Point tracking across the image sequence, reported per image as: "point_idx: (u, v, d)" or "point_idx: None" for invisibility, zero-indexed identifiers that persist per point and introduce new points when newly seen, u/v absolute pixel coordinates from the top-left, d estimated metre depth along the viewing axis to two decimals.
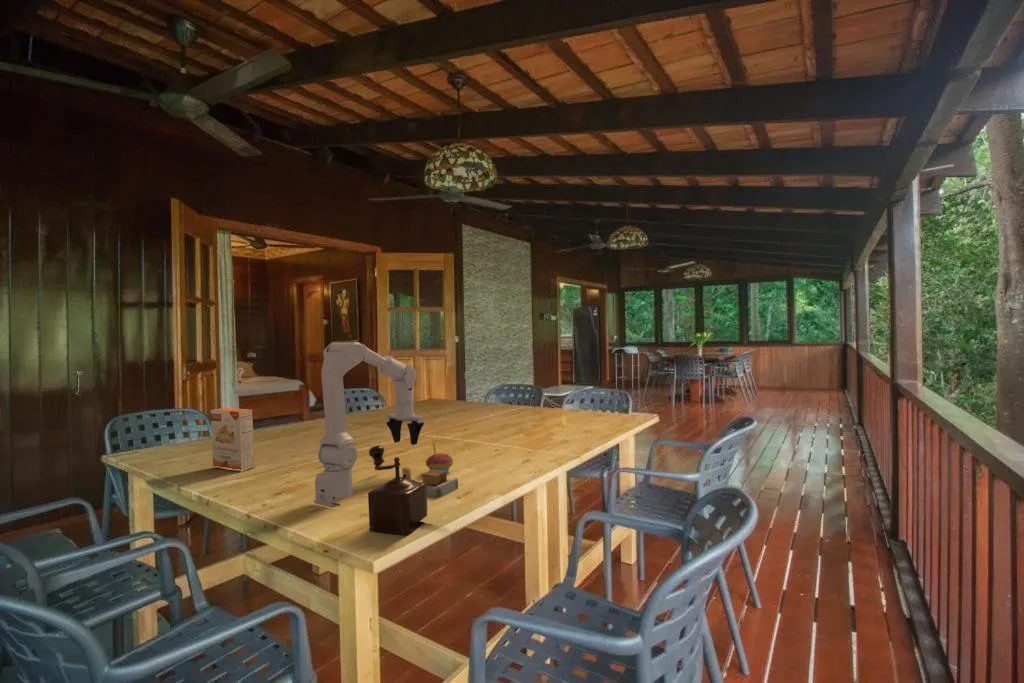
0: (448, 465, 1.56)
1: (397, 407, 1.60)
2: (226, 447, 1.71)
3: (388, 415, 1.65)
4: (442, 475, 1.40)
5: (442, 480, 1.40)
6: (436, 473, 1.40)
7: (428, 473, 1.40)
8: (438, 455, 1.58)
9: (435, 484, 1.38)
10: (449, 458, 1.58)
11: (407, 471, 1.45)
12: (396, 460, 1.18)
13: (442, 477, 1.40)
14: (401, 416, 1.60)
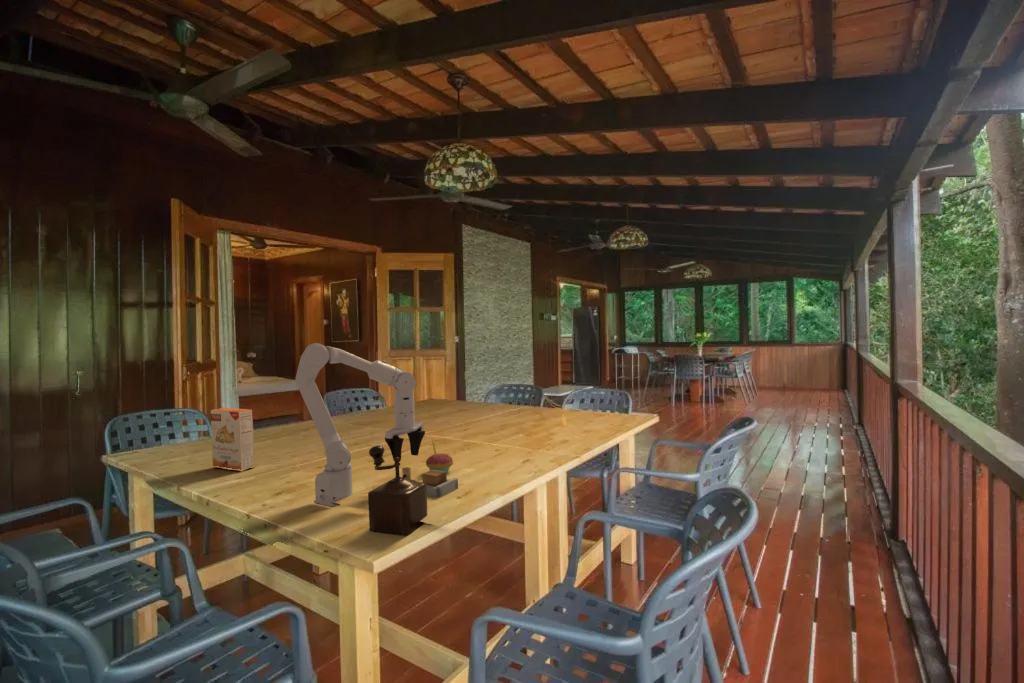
0: (448, 465, 1.56)
1: None
2: (226, 447, 1.71)
3: None
4: (442, 475, 1.40)
5: (442, 480, 1.40)
6: (436, 473, 1.40)
7: (428, 473, 1.40)
8: (438, 455, 1.58)
9: (435, 484, 1.38)
10: (449, 458, 1.58)
11: (407, 471, 1.45)
12: (396, 460, 1.18)
13: (442, 477, 1.40)
14: None
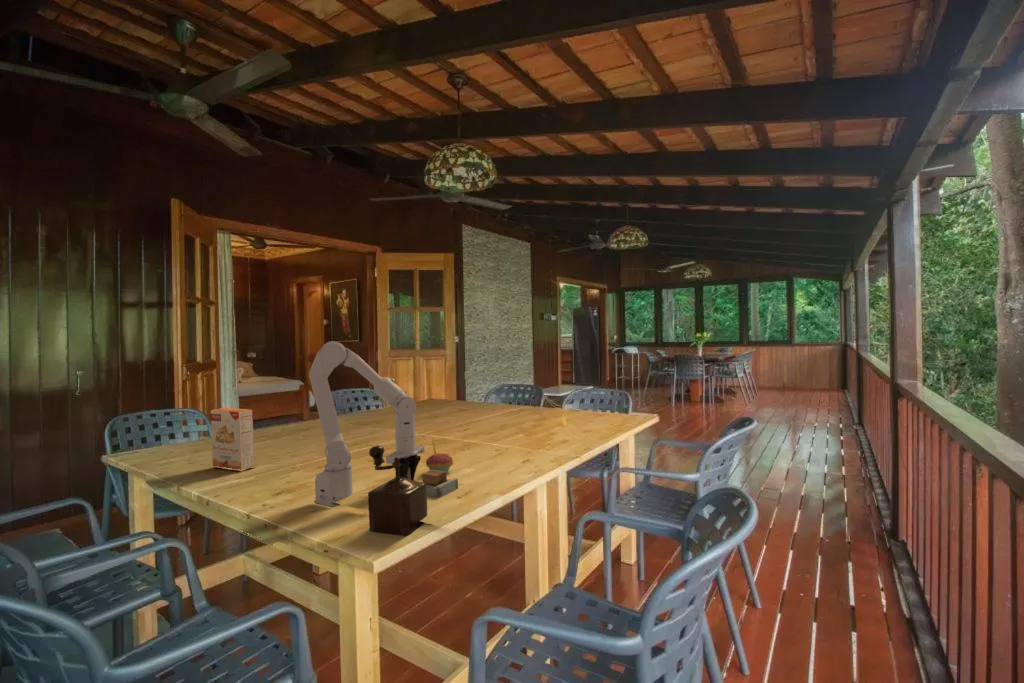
0: (448, 465, 1.56)
1: None
2: (226, 447, 1.71)
3: None
4: (442, 475, 1.40)
5: (442, 480, 1.40)
6: (436, 473, 1.40)
7: (428, 473, 1.40)
8: (438, 455, 1.58)
9: (435, 484, 1.38)
10: (449, 458, 1.58)
11: None
12: (396, 460, 1.18)
13: (442, 477, 1.40)
14: None
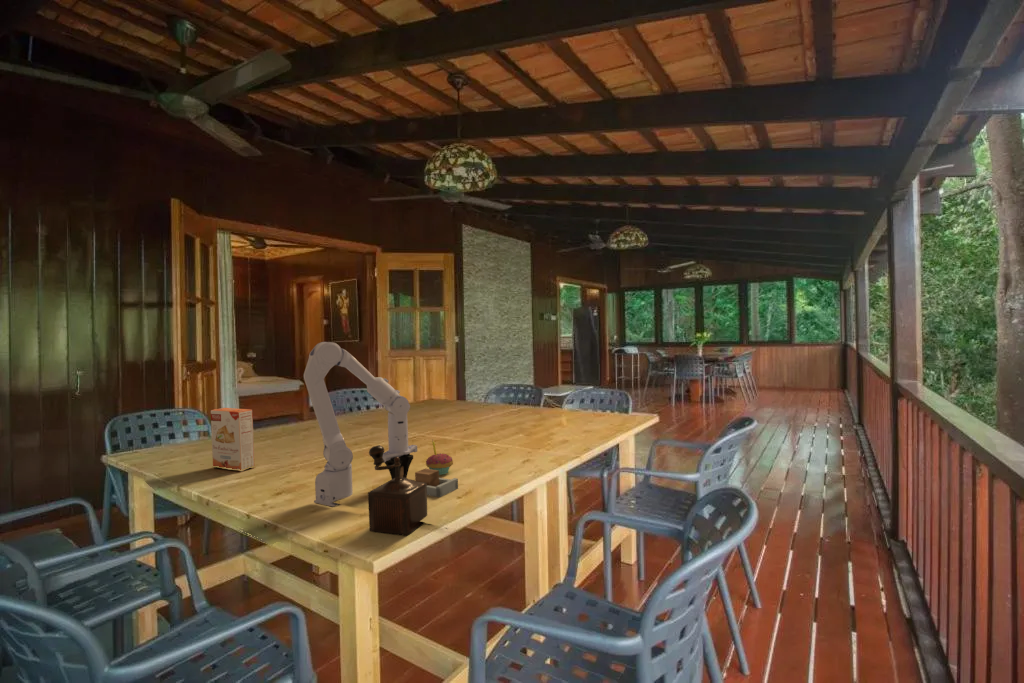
0: (448, 465, 1.56)
1: None
2: (226, 447, 1.71)
3: None
4: (434, 474, 1.42)
5: (434, 478, 1.42)
6: (428, 472, 1.42)
7: (421, 472, 1.42)
8: (438, 455, 1.58)
9: (427, 483, 1.40)
10: (449, 458, 1.58)
11: (400, 470, 1.47)
12: (396, 460, 1.18)
13: (434, 476, 1.42)
14: None
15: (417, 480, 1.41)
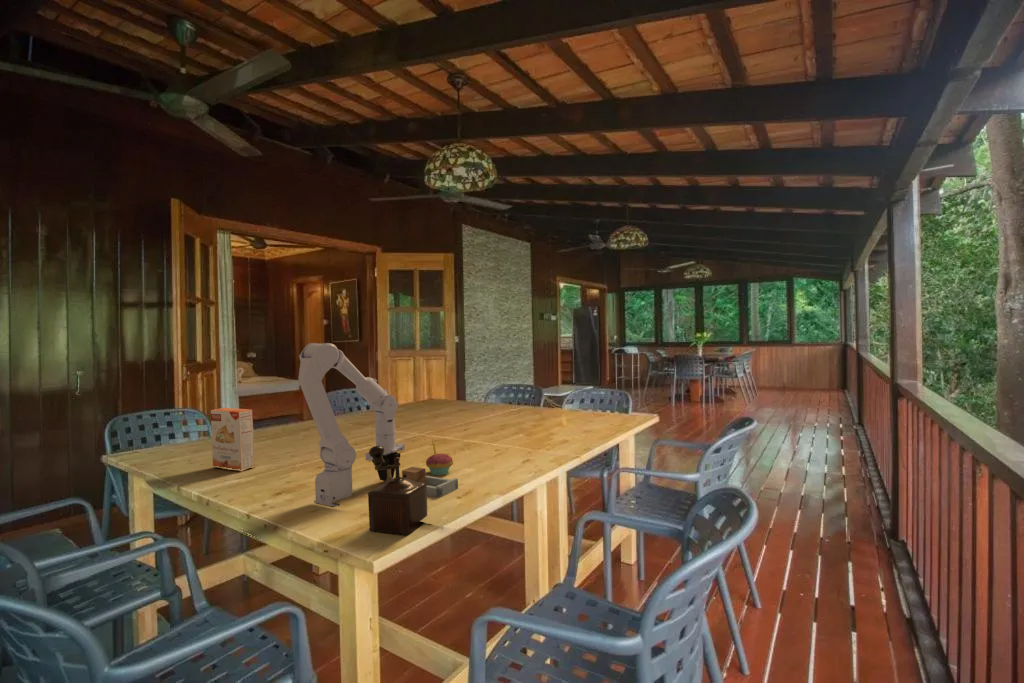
0: (448, 465, 1.56)
1: None
2: (226, 447, 1.71)
3: None
4: (421, 472, 1.44)
5: (421, 476, 1.44)
6: (415, 470, 1.44)
7: (407, 470, 1.44)
8: (438, 455, 1.58)
9: None
10: (449, 458, 1.58)
11: None
12: (396, 460, 1.18)
13: (421, 474, 1.44)
14: None
15: None
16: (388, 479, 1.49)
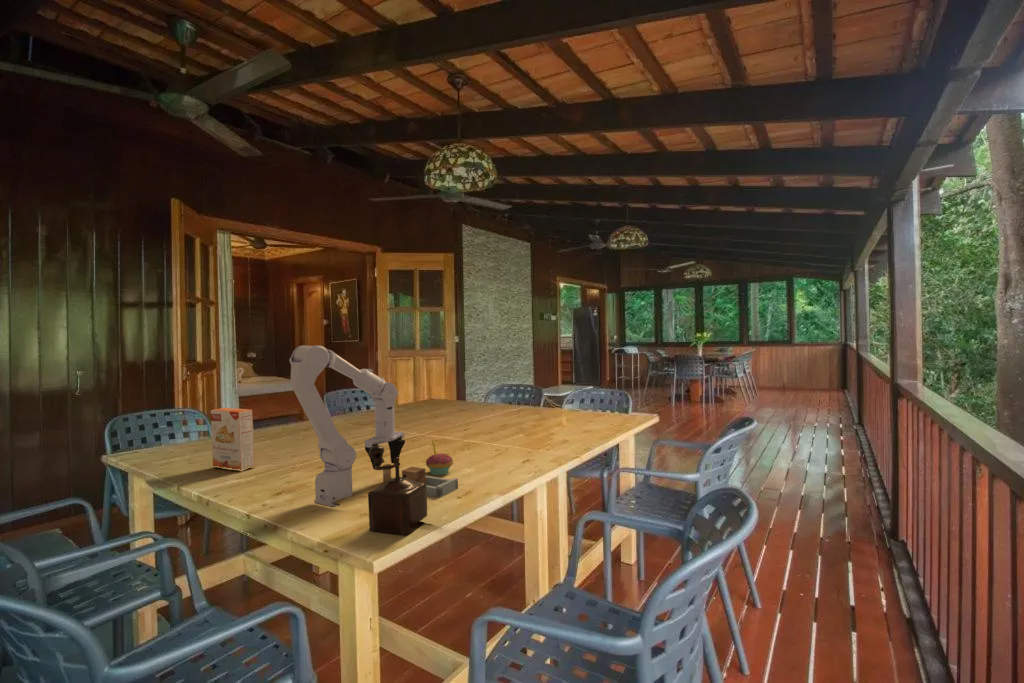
0: (448, 465, 1.56)
1: None
2: (226, 447, 1.71)
3: None
4: (421, 472, 1.44)
5: (421, 476, 1.44)
6: (414, 470, 1.44)
7: (407, 470, 1.44)
8: (438, 455, 1.58)
9: None
10: (449, 458, 1.58)
11: None
12: (396, 460, 1.18)
13: (421, 474, 1.44)
14: None
15: None
16: (388, 479, 1.49)
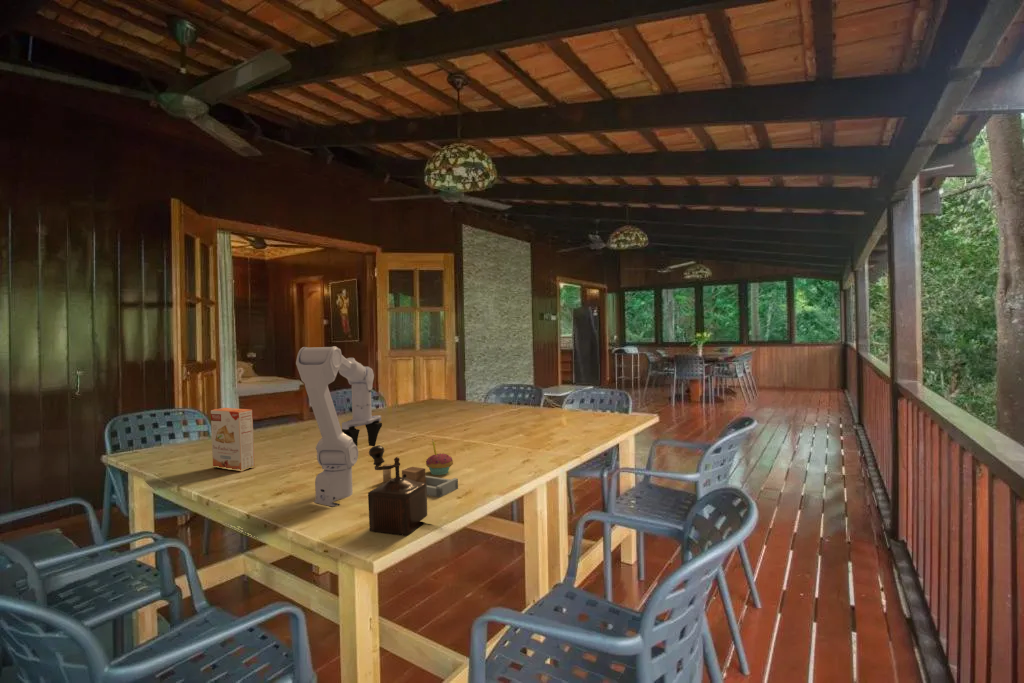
0: (448, 465, 1.56)
1: None
2: (226, 447, 1.71)
3: None
4: (421, 472, 1.44)
5: (421, 476, 1.44)
6: (414, 470, 1.44)
7: (407, 470, 1.44)
8: (438, 455, 1.58)
9: None
10: (449, 458, 1.58)
11: None
12: (396, 460, 1.18)
13: (421, 474, 1.44)
14: None
15: None
16: (388, 479, 1.49)
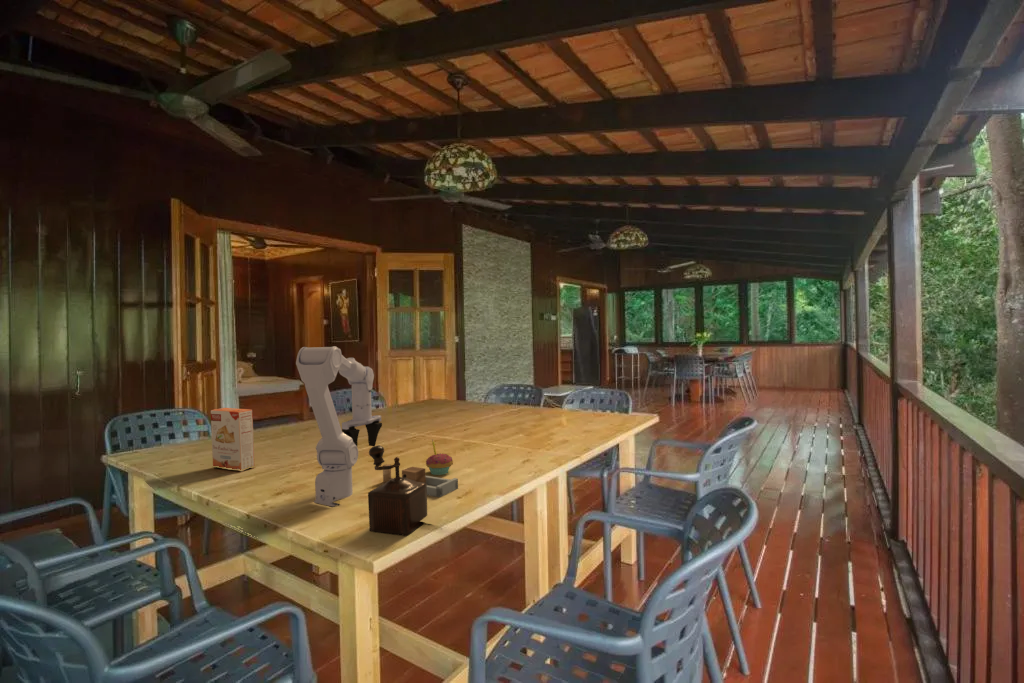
0: (448, 465, 1.56)
1: None
2: (226, 447, 1.71)
3: None
4: (421, 472, 1.44)
5: (421, 476, 1.44)
6: (414, 470, 1.44)
7: (407, 470, 1.44)
8: (438, 455, 1.58)
9: None
10: (449, 458, 1.58)
11: None
12: (396, 460, 1.18)
13: (421, 474, 1.44)
14: None
15: None
16: (388, 479, 1.49)
